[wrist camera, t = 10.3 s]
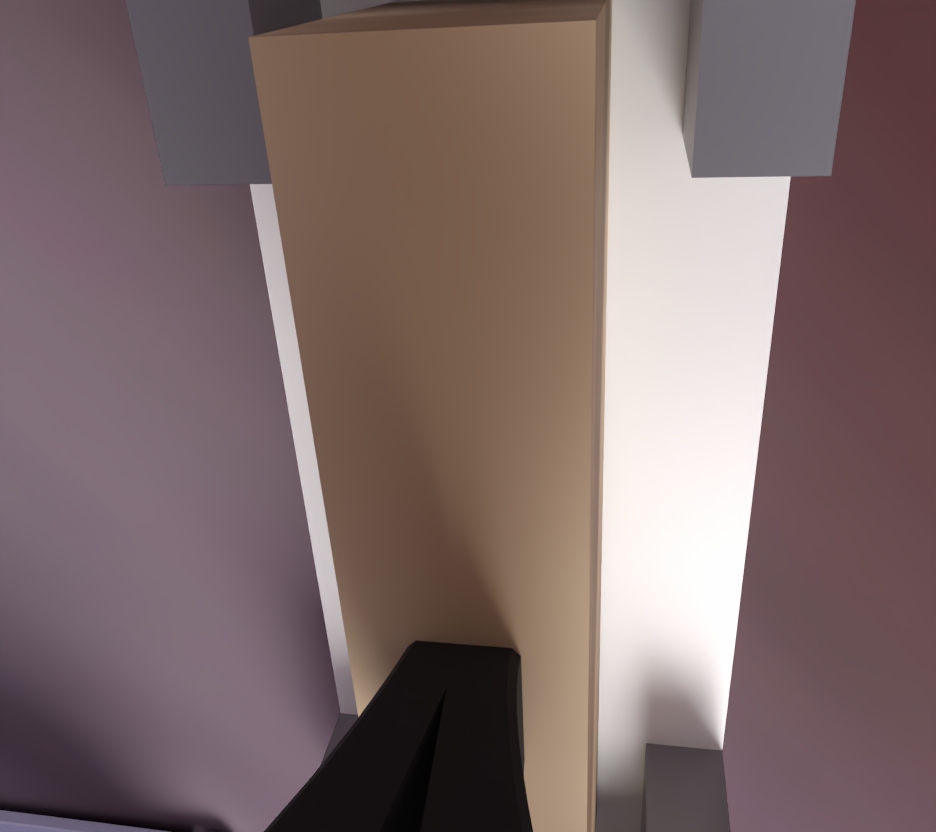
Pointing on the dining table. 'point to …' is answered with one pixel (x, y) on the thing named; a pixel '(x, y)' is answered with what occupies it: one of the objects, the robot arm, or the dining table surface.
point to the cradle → (627, 332)
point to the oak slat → (457, 338)
